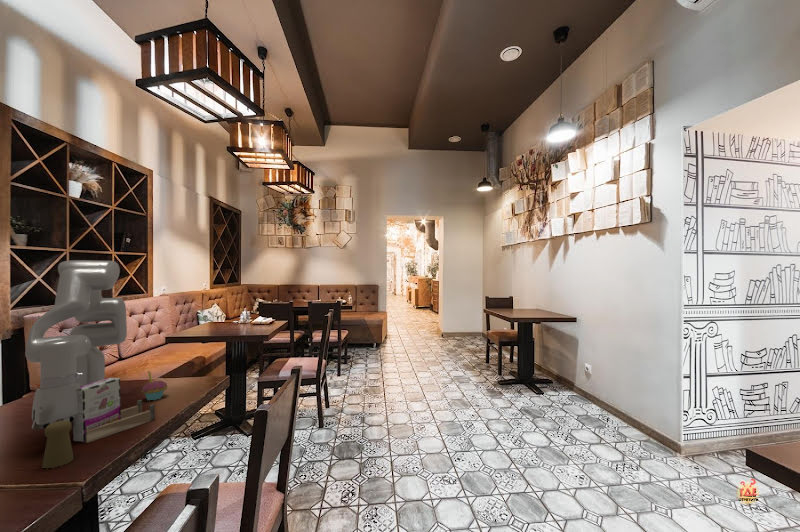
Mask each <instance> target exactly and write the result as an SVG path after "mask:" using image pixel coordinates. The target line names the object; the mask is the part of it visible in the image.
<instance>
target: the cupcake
mask: <svg viewBox="0 0 800 532" xmlns="http://www.w3.org/2000/svg"><path fill="white" fill-rule="evenodd" d="M148 378H149V382H148V383H146V384H144V385H143V387H141V393H142V394H144V395H145V397H146V400H147V401H148V400H149V401H148V402H151V401H150V400H154V401H158V400H160V399H162V398H161V397H163V395H164V392H165V390H167V389H168V383H166V382H165V381H163V380H155V381H153V379H152V374H151V372H150V371H148ZM157 399H158V400H157Z"/></svg>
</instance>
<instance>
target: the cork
mask: <svg viewBox="0 0 800 532" xmlns="http://www.w3.org/2000/svg"><path fill="white" fill-rule="evenodd" d="M72 429H73V423H72V422H70V421H68V420H62V421H61V420H58V421H56V422H54V423H51V424H49V425H48V426H47V427H46V428H44V435H45V437H47V438H46V444H45V448H44V455H43V460H42V465H41V469H42V468H47V469H46V470H49V469H48V468H52V469H56V468H55V467H57V468H59V467H58V466H60V467H62V465H63V466H64V464H65V465H68V464H69V463H71V462H72V461H73V460H74V453H73V452H74V451H73V448H72V443H71V436H70V431H71V430H72Z"/></svg>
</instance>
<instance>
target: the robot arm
mask: <svg viewBox="0 0 800 532" xmlns="http://www.w3.org/2000/svg"><path fill="white" fill-rule="evenodd" d="M57 271H58V274H59V279H58V283H57V289H56V295H55V301H54V305H53V307H52V308H50V309H49V310H48V311H46V312H45V313H43V314H42V315H41V316H40V317H39V318H38V319H36V321H35V322H34V323H33V324H32V325H31V327H30V329H29V331H28V334H27V335H28V336H27V340H26V344H25V350H24V351H25V358H26V360H28V361H29V362H30V363H40V373H39V374H40V376H39V377H40V380H39V381H40V382H39V383H40V385H39V388H37V389H35V393H34V395H33V402H32V410H31V420H32V422H33V423H32V426H31V429H32V430H33V431H34V430H43V429H44V430H45V428H46V427H47V426H48V425H49V424H51V423H54V422H57V421H62V420H68V421H70V422H71V423H73V420H74V419H75V415H77V414H78V413H79V389H80V387H81V386H84V385H87V384H91V383H94V382H97V381H100V380H104V379H106V376H105V375H106V372H105V371H106V368H105V367H106V358H105V354H104V352H102V350H101V349H99V348H98V347H102V346H103V347H104V346H112V345H114V346H115V345H119V344H123V343H125V341H126V339H127V336H128V331H127V329H128V328H127V327H128V326H127V325H128V324H127V308H126V307H127V306H126V303H125V300H124V299H123V298H121V297H103V296H102V291H107V290H111V289H113V288H114V286H116V283H117V281H118V279H119V277H120V273H121V272H120V271H121V270H120V265H119V263H118V262H116V261H115V260H93V259H92V260H89V259H88V260H87V259H82V260H80V259H77V260H75V259H73V260H65V261H62V262H60V263H59V264H58V265H57ZM72 318H74V319H75V320H76V321H78V322H80V323H84V324H79V325H77V326H75V327H73V328H72V329H71V331H70V333H69V335H59V336H58V335H57V336H48V337H46V336H45V337H44V335H45V334H46V332H47V331H48V330H49V329H50V328H52V327H54V326H55V325H57V324H59V323H61V322H64V321H67V320H69V319H72ZM105 321H107V322H105ZM91 322H92V323H91ZM96 322H97V323H96Z"/></svg>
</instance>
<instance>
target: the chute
mask: <svg viewBox="0 0 800 532" xmlns="http://www.w3.org/2000/svg"><path fill="white" fill-rule="evenodd" d="M155 413H156V412H155V404H154V403H153V404H150V405H148V410H146V411H143V400H142V399H139V400H137V401H136V405H134V406H130V407H127V408H124V409H121V420H118V421H114V422H111V423H108V424H105V425H102V426H99V427H96V428H93V429H90V430H86V442H85V443H86V444H88V443H89V444H90V443H91V442H95V441H98V440H100V439H103V438H107V437H109V436H112V435H115V434H118V433H120V432H124V431H127V430H129V429H132V428H135V427H138V426H141V425H144V424H146V423H150V422H152V421H155V420H156V419H155V416H156V414H155Z"/></svg>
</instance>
